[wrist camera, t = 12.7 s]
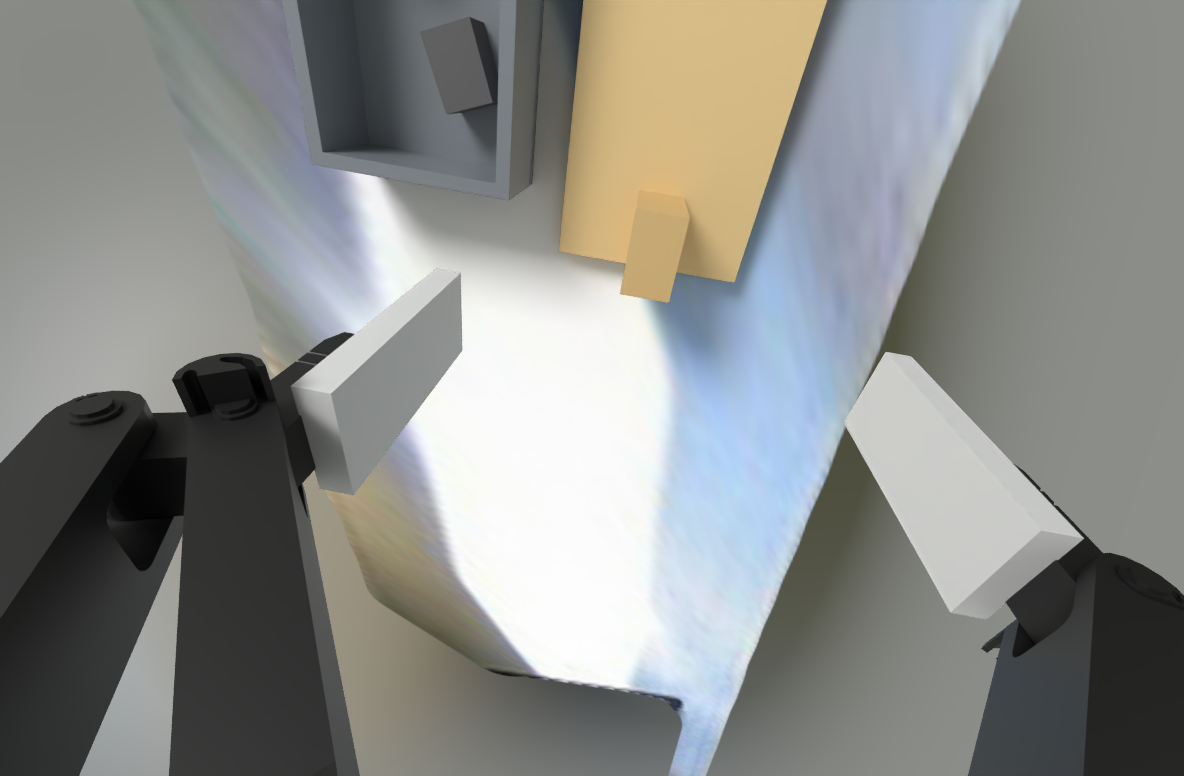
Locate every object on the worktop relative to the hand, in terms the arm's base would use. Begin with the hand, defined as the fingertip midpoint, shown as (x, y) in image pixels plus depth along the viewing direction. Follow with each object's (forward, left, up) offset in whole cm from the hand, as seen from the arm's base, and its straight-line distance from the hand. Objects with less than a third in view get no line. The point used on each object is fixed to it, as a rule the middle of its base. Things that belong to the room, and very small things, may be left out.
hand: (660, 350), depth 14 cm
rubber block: (-6, -13, -20) cm, 25 cm away
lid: (-6, 0, -20) cm, 21 cm away
